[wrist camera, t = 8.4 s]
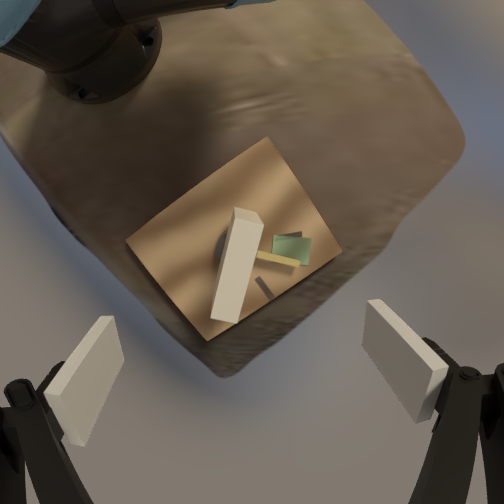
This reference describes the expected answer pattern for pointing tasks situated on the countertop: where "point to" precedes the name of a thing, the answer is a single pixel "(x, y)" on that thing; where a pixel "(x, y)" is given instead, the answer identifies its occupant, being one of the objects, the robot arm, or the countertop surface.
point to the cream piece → (238, 263)
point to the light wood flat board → (217, 221)
